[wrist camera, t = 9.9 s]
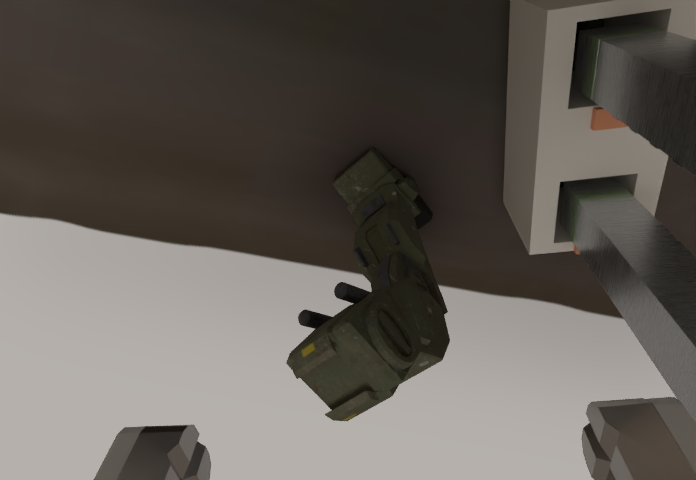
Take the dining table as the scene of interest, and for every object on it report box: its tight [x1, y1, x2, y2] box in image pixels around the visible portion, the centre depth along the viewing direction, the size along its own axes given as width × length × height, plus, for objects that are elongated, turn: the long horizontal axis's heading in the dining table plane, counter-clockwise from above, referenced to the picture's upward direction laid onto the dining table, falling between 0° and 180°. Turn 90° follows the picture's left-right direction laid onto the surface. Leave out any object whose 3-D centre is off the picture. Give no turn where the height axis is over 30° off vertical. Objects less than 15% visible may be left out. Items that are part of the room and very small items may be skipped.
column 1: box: [573, 22, 696, 175], centre depth 26 cm, size 4×4×22 cm
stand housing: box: [503, 0, 696, 255], centre depth 40 cm, size 20×10×11 cm, turn 8°
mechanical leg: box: [287, 148, 450, 421], centre depth 38 cm, size 14×7×30 cm, turn 43°
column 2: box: [560, 177, 696, 423], centre depth 32 cm, size 4×4×22 cm
